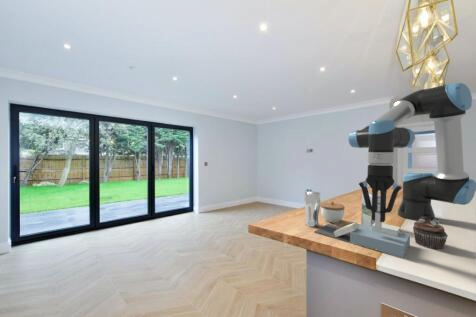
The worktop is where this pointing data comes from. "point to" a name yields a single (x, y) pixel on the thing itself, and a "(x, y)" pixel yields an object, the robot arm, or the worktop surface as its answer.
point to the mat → (329, 230)
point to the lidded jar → (332, 212)
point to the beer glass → (312, 208)
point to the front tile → (346, 229)
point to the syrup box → (368, 211)
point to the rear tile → (388, 229)
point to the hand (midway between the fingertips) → (378, 229)
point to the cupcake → (429, 233)
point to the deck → (381, 240)
